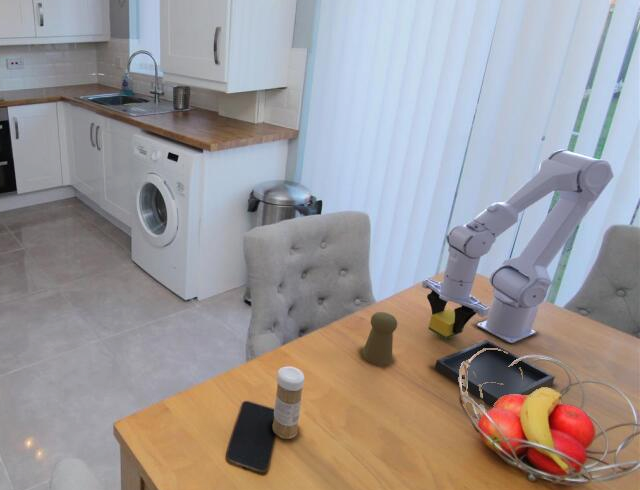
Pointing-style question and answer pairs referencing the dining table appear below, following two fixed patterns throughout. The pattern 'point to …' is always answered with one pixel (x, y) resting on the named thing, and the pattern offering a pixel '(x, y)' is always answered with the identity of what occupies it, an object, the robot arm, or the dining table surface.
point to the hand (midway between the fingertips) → (446, 326)
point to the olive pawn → (380, 339)
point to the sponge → (443, 323)
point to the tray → (494, 372)
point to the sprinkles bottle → (288, 402)
